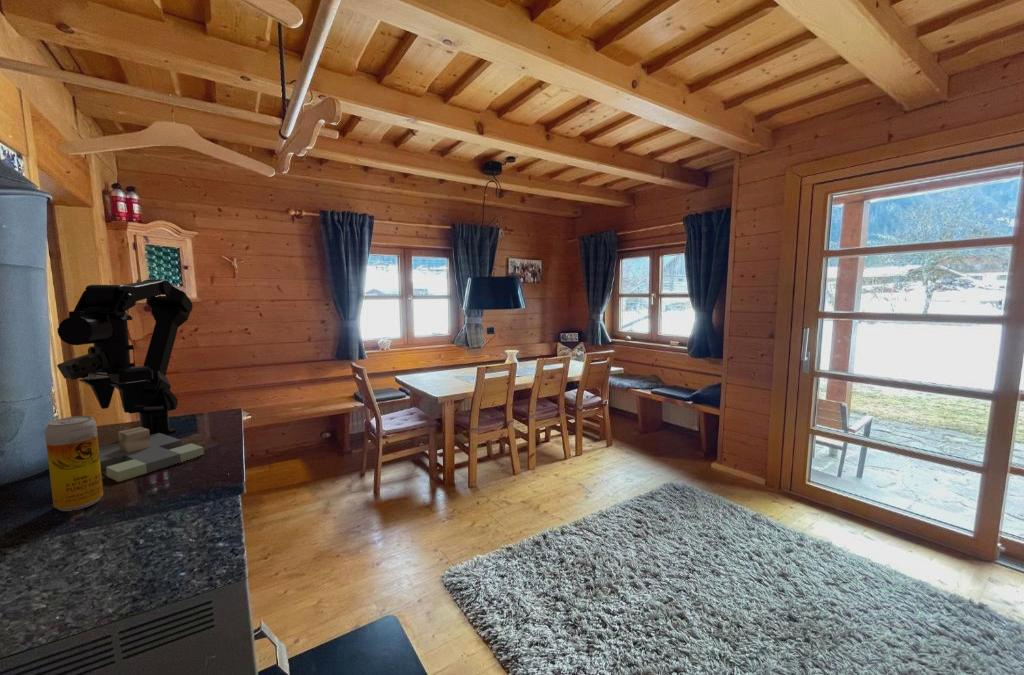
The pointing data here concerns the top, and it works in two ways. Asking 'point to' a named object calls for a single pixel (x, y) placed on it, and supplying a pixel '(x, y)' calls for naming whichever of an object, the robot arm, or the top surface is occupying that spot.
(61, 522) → the top surface
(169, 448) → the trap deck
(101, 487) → the beer can
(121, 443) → the block
